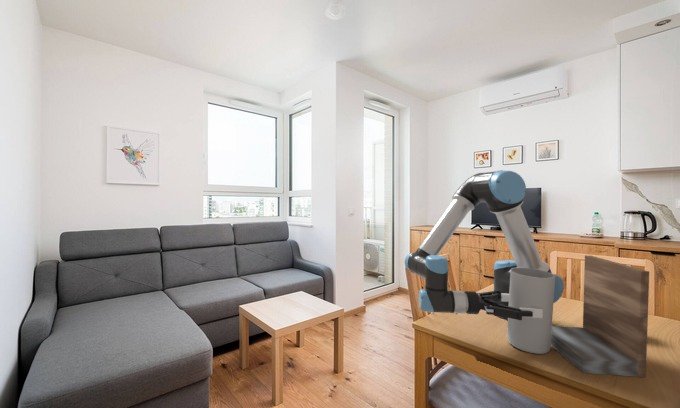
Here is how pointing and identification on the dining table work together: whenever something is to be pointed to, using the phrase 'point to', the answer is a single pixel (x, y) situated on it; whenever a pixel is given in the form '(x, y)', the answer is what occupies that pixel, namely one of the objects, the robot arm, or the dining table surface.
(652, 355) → the dining table surface
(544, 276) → the cylinder vase
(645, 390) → the dining table surface
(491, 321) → the dining table surface
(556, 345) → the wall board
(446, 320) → the dining table surface
